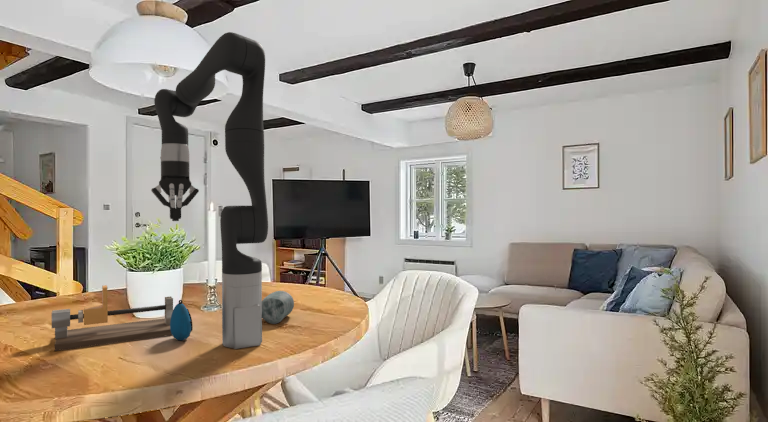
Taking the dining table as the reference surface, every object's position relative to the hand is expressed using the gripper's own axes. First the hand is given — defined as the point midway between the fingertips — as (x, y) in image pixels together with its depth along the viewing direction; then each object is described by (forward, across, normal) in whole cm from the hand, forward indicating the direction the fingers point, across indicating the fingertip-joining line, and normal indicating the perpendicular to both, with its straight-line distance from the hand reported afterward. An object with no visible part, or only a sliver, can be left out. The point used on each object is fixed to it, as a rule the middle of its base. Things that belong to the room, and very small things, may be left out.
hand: (175, 220), depth 134 cm
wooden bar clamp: (+29, -15, -8) cm, 34 cm away
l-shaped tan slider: (+25, -20, -8) cm, 33 cm away
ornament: (+29, -2, -21) cm, 36 cm away
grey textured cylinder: (+29, +25, -14) cm, 41 cm away
